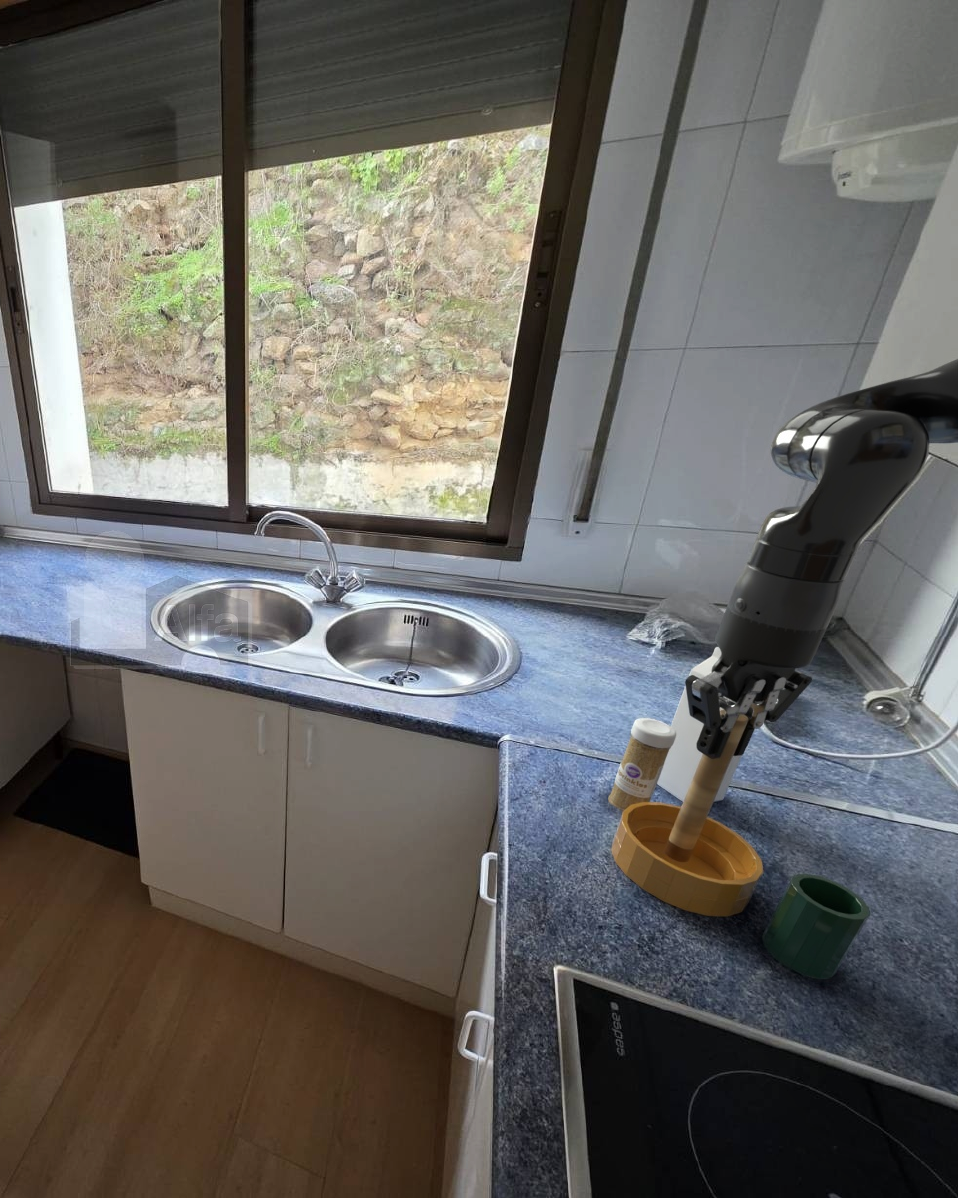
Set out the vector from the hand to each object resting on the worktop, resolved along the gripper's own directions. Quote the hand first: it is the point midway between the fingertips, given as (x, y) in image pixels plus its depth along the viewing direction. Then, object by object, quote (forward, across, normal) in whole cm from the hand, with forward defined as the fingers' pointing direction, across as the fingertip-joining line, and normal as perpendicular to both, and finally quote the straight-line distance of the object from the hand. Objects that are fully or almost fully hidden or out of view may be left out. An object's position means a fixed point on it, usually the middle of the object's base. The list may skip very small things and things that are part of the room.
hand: (718, 752), depth 70 cm
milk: (+18, +16, +13) cm, 27 cm away
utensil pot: (+18, +3, -12) cm, 22 cm away
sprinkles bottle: (+18, +5, +11) cm, 22 cm away
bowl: (+18, +1, 0) cm, 18 cm away
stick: (+15, 0, 0) cm, 15 cm away
